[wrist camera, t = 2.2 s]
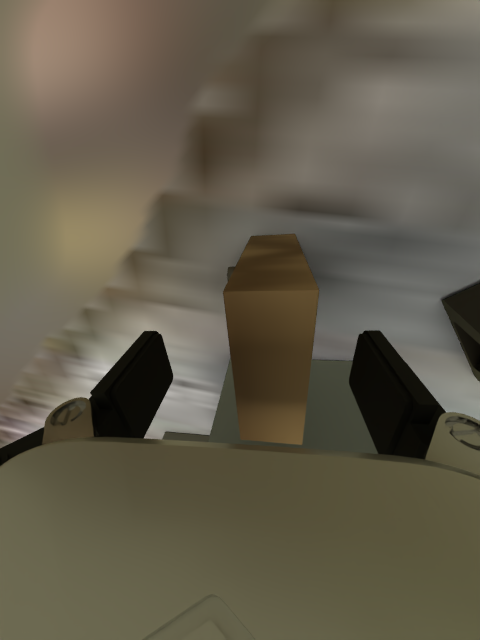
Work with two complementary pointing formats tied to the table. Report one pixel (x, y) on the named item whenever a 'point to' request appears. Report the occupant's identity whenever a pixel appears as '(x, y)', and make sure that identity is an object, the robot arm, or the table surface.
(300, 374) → the tan rectangular block
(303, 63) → the table surface
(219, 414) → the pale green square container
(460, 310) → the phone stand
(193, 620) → the robot arm
